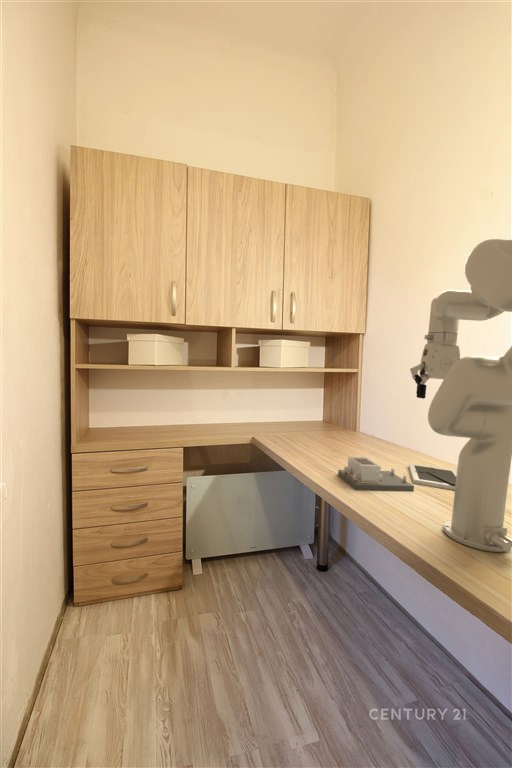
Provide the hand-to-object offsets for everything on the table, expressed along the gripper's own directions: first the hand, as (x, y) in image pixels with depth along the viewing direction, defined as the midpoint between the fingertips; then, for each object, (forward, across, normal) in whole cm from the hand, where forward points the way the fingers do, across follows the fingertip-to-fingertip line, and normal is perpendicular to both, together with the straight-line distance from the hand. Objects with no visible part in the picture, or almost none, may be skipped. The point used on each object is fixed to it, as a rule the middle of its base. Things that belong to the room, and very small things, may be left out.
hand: (435, 398), depth 102 cm
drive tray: (+28, -12, +9) cm, 32 cm away
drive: (+27, -16, +9) cm, 32 cm away
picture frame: (+29, +13, +14) cm, 35 cm away
